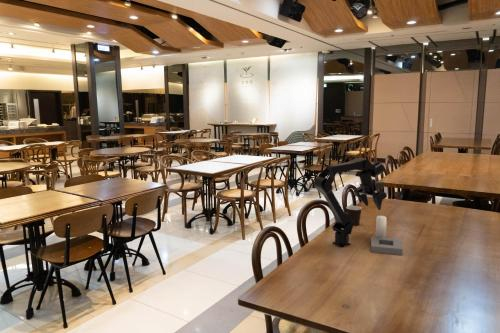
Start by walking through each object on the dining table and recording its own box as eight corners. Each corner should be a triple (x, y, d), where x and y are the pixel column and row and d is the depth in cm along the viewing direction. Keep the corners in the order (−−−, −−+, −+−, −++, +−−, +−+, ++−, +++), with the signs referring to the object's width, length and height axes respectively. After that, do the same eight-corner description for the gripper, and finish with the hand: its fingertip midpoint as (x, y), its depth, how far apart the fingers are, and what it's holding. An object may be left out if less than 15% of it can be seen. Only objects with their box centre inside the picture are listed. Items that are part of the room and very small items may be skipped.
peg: (381, 241, 193) (382, 219, 191) (373, 238, 197) (374, 216, 195) (387, 239, 195) (388, 217, 194) (380, 236, 200) (380, 215, 198)
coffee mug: (357, 227, 215) (358, 210, 214) (343, 224, 220) (344, 208, 219) (365, 222, 224) (365, 206, 223) (351, 219, 230) (351, 204, 228)
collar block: (370, 252, 179) (371, 246, 179) (371, 241, 193) (371, 236, 192) (402, 255, 175) (402, 249, 175) (400, 244, 188) (400, 238, 188)
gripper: (391, 177, 185) (398, 205, 190) (366, 171, 202) (372, 197, 207) (374, 187, 182) (382, 214, 186) (350, 180, 199) (357, 206, 203)
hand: (373, 207), depth 196 cm, fingers open, 9 cm apart
